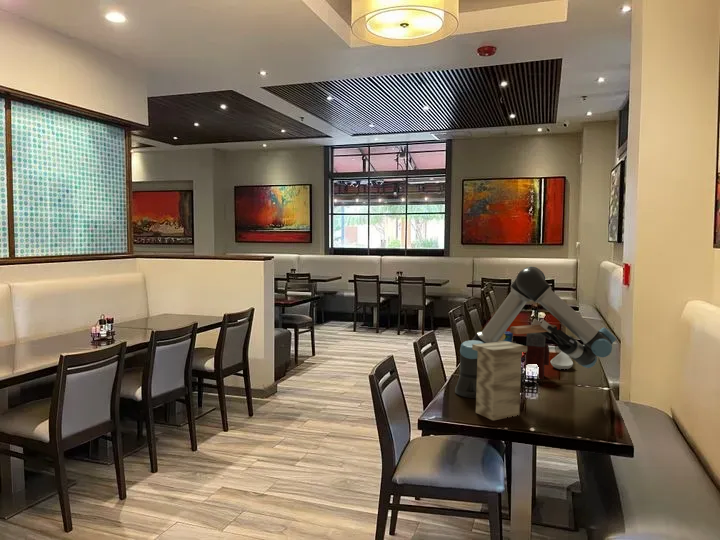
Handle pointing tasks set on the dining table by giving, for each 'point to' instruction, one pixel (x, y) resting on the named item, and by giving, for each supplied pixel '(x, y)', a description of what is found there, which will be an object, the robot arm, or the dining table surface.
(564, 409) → the dining table surface
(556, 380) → the dining table surface
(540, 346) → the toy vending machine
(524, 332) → the strip
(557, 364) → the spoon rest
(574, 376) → the dining table surface
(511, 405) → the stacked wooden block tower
